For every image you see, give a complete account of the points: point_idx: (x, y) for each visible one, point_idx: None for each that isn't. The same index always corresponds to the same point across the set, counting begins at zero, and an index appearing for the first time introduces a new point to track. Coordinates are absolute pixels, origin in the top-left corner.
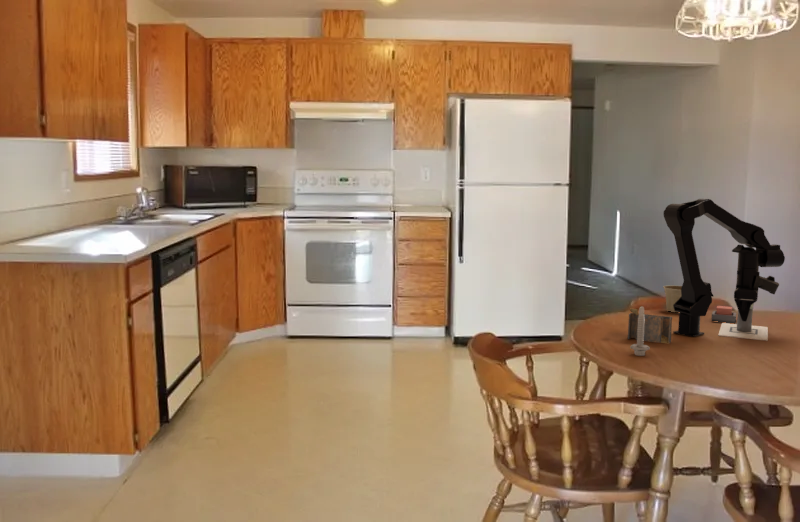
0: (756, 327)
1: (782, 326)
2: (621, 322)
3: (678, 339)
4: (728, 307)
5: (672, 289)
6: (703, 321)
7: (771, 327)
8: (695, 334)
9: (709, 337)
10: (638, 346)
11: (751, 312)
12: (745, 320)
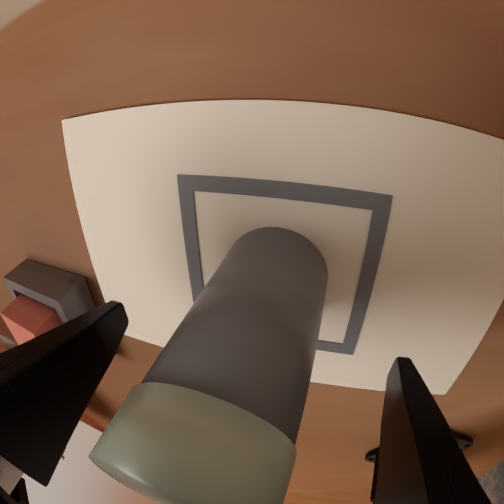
0: (110, 181)
1: (11, 65)
2: (291, 496)
3: (492, 450)
4: (18, 332)
5: (61, 456)
6: (129, 374)
7: (46, 102)
8: (460, 442)
9: (475, 408)
10: None
11: (263, 373)
12: (410, 368)
